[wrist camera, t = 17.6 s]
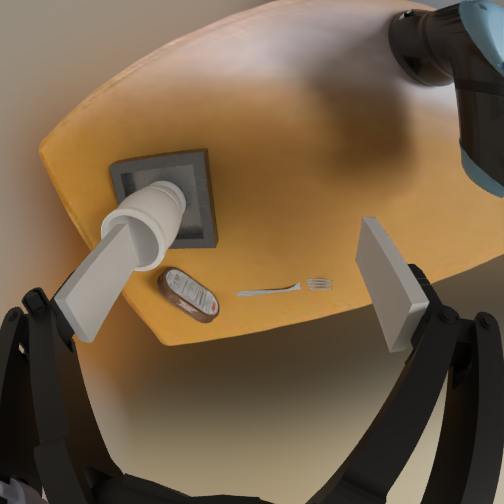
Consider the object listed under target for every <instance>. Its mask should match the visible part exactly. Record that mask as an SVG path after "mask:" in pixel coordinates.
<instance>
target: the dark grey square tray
mask: <svg viewBox="0 0 504 504" xmlns="http://www.w3.org/2000/svg"><path fill="white" fill-rule="evenodd" d="M109 166H110V170H111V175H112V179H113V184H114V188H115V192H116V196H117V200H118V204H119V205H120V204H121V203H122V202H123V200H125V199H126V198H127V197H128V196H129V195H131V194H133V193H134V192H136V191H139V190H141V189H143V188H145V187H147V186H149V185H150V184H152V183H154V182H156V181H168V182H171V183H173V184H175V185H176V186H178V187H179V188H180V190H181V191H182V192H183V194H184V196H185V200H186V208H185V211H184V213H183V215H182V219H181V223H180V227H179V230H178V233H177V235H176V238H175V239H174V241H173V243H172V244H171V246H170V247H169V248H168V249H180V248H216V246H217V243H218V232H217V225H216V217H215V209H214V201H213V193H212V185H211V177H210V168H209V159H208V150H207V148H204V149H194V150H185V151H176V152H169V153H161V154H154V155H148V156H141V157H135V158H130V159H124V160H119V161H116V162H114V163H112V164H111V165H109Z"/></svg>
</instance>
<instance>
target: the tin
mask: <svg viewBox="0 0 504 504" xmlns="http://www.w3.org/2000/svg"><path fill="white" fill-rule="evenodd" d="M157 285H158V289H159V291H160V293H161V294H162V296H163V297H164V298H165V299H166V300H167V301H169V302H170V303H171V304H173V305H174V306H176V307H177V308H179V309H180V310H182V311H183V312H185V313H186V314H188V315H189V316H190V317H192V318H193V319H195V320H196V321H198V322H201V323H210V322H211V321H212V320H213V319H214V318H216V317H217V316H218V314H219V303H218V300H217V299H216V297H215V296H214V295H213V293H212V292H211V291H209V290H208V289H207V288H205V287H204V286H203V285H201V284H200V283H198V282H197V281H196V280H194V279H193V278H192V277H190V276H189V275H188V274H186V273H185V272H183V271H182V270H180V269H177V268H168V269H166V270H165V271H164V272H163V273H162V274H161V275H160V276H159V277H158V280H157Z"/></svg>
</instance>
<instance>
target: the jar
mask: <svg viewBox="0 0 504 504" xmlns="http://www.w3.org/2000/svg"><path fill="white" fill-rule="evenodd" d="M185 208H186V200H185V196H184V194H183V192H182V191H181V190H180V188H179V187H178V186H176V185H175V184H173V183H171V182H168V181H156V182H154V183H152V184H150V185H149V186H147V187H145V188H143V189H141V190H139V191H136V192H134V193H133V194H131V195H129V196H128V197H127V198H126V199H125V200H123V202H122V203H121V204H120V205H119V206H118V207H117V209H116V210H114V211H112V212H111V213H110V214H108V215H107V216H106V217H105V219H104V221H103V223H102V226H101V238H102V239H103V238H104V237H105V236H106V235H107V234H108V233H109V232H110V231H111V229H112V228H113V227H114V226H115V225H116V224H123V223H127V224H128V228H129V231H130V235H131V238H132V242H133V245H134V248H135V251H136V254H137V258H138V261H139V263H138V265H137V266H136V268H135V269H134V270H135V271H148V270H151V269H153V268H155V267H157V266H158V265H159V264H160V263H161V261H162V260H163V258H164V256H165V254H166V250H167V249H168V248H169V247H170V246H171V244H172V243H173V241H174V239H175V238H176V235H177V233H178V230H179V227H180V223H181V219H182V215H183V213H184V211H185Z"/></svg>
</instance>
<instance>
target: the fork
mask: <svg viewBox="0 0 504 504" xmlns="http://www.w3.org/2000/svg"><path fill="white" fill-rule="evenodd" d="M311 280H319V281H332V280H325V279H307V282H308V285H309V284H313V283H322V284H333V283H328V282H309V281H311ZM313 286H328V287H332V286H331V285H309V287H313ZM297 289H298V290H300V283H299V282H298V283H297V284H296V285H295V286H293V287H291V288H288V289H282V290H252V291H242V292H239V293H237V294H236V295H237V296H241V297H242V296H253V295H260V294H268V293H277V292H286V291H291V290H297ZM309 289H310V290H311V289H333V288H309Z"/></svg>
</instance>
